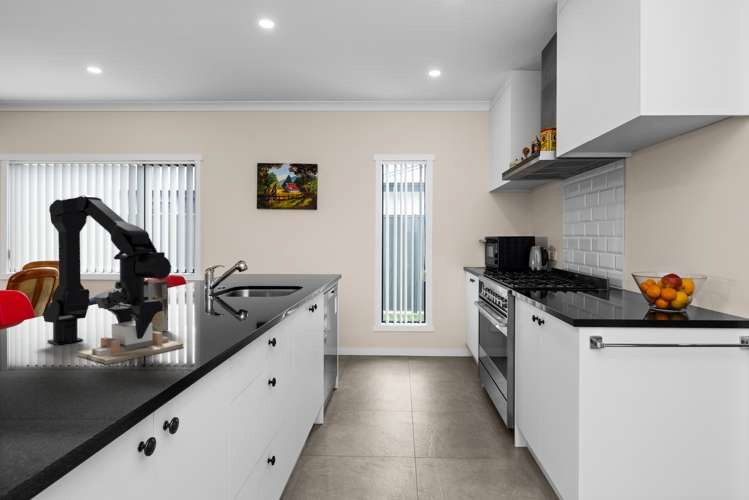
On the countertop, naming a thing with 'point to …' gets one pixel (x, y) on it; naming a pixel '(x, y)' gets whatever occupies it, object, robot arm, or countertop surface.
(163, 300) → the coffee box
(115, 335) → the block
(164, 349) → the rail board
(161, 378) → the countertop surface
